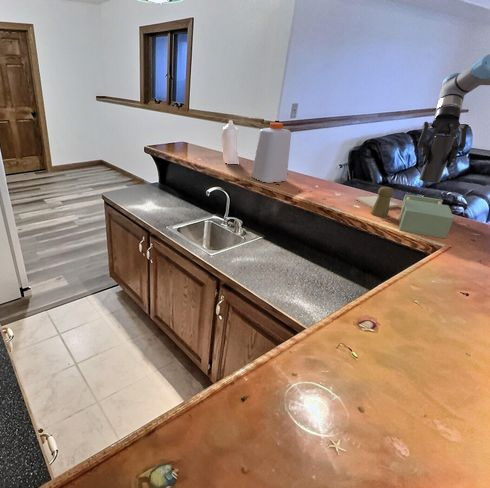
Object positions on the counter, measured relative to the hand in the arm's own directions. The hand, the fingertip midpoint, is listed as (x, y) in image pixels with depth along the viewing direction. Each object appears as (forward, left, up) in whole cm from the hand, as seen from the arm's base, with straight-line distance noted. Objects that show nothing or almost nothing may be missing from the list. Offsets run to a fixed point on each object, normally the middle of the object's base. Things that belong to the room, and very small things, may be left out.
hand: (436, 163), depth 125 cm
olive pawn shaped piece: (+7, +11, -22) cm, 25 cm away
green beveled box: (-7, +5, -22) cm, 23 cm away
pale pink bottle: (+96, +43, -22) cm, 107 cm away
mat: (+19, +3, -22) cm, 29 cm away
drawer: (+3, -3, -21) cm, 21 cm away
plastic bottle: (+60, +34, -22) cm, 72 cm away
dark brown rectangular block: (+3, -2, -7) cm, 8 cm away
